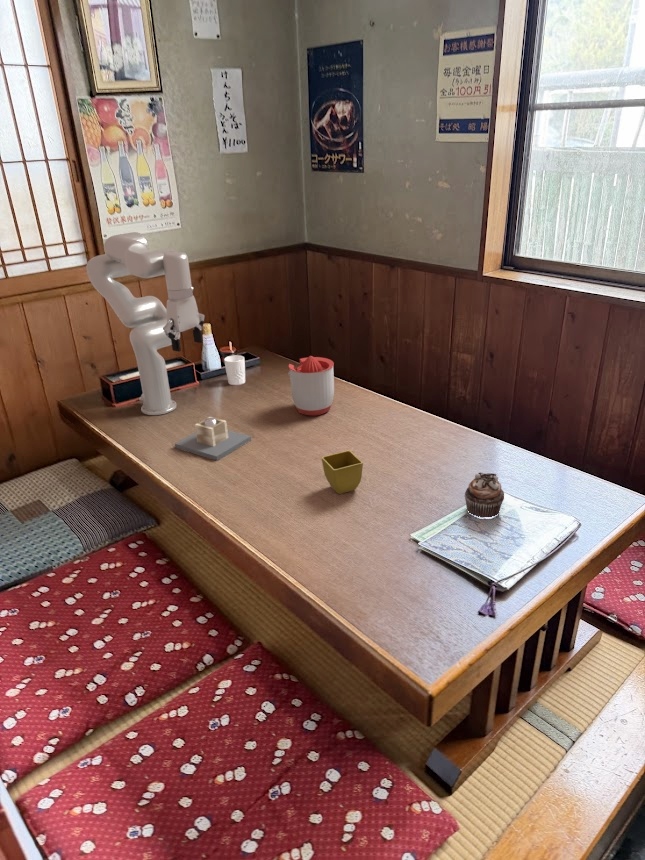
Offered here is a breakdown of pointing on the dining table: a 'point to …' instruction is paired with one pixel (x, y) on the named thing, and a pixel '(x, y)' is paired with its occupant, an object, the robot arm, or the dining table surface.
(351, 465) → the flower pot
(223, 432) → the birch collar
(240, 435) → the grey board
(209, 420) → the grey cylinder
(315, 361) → the citrus juicer
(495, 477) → the cupcake
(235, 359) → the white cup
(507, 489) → the dining table surface
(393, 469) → the dining table surface
